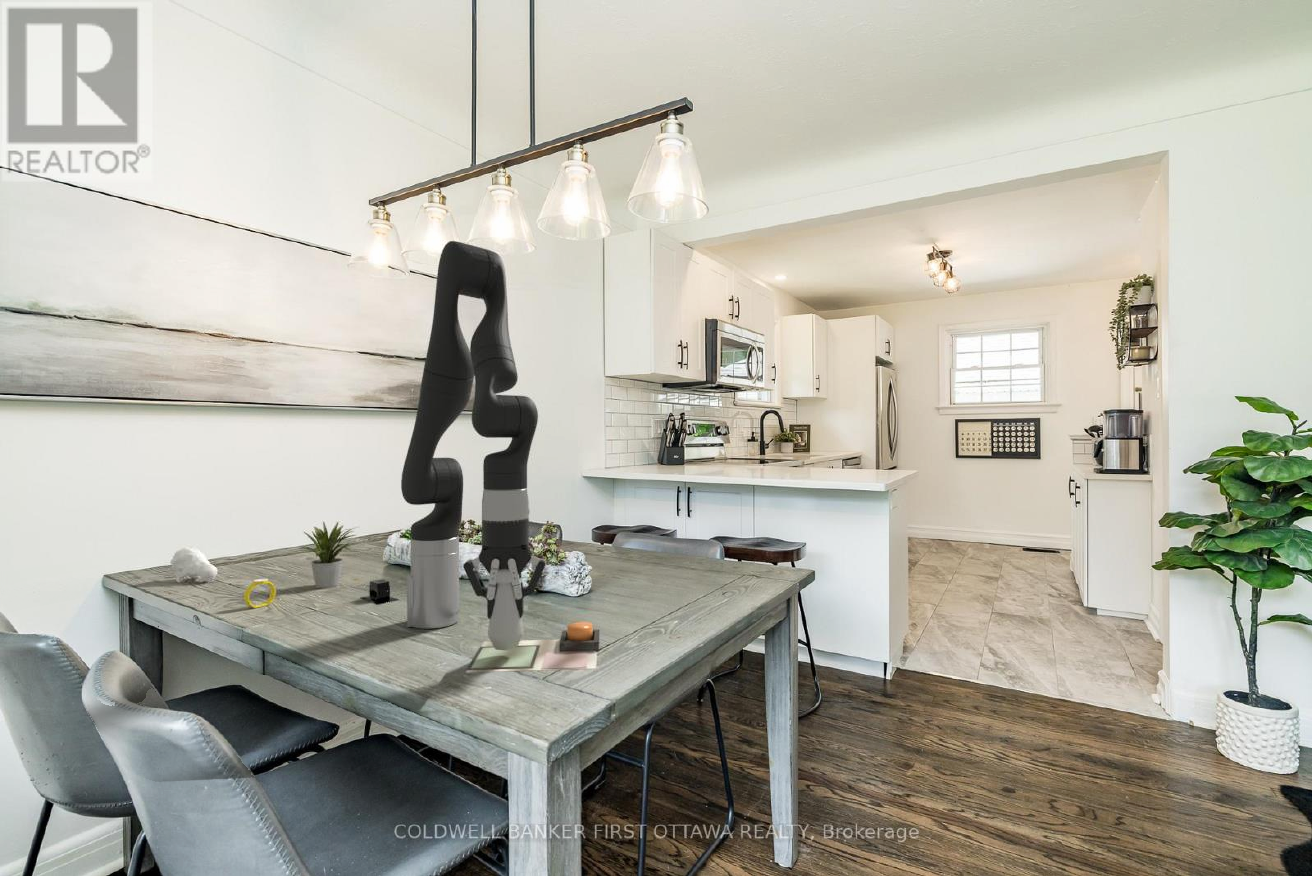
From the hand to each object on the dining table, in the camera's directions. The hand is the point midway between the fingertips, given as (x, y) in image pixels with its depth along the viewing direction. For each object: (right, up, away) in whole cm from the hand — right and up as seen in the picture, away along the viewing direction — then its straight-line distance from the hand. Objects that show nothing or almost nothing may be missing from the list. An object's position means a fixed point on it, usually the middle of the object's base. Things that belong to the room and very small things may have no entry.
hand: (505, 620), depth 99 cm
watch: (-63, -8, +34) cm, 72 cm away
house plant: (-57, -7, +52) cm, 78 cm away
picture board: (+5, -7, +1) cm, 9 cm away
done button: (+11, -5, +6) cm, 14 cm away
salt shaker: (0, -4, 0) cm, 4 cm away
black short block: (-39, -8, +40) cm, 57 cm away
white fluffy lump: (-95, -8, +58) cm, 111 cm away
